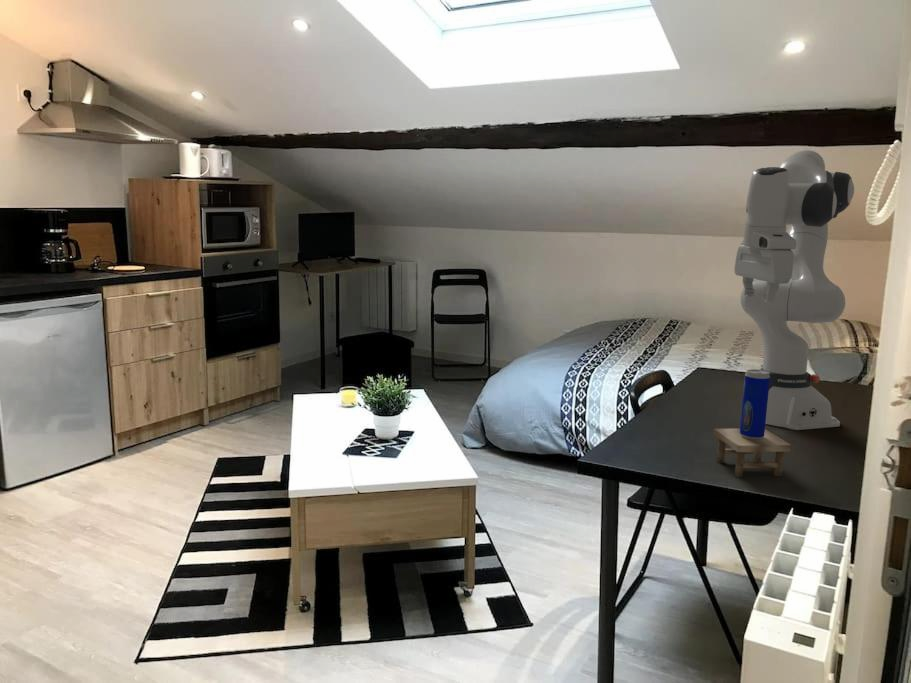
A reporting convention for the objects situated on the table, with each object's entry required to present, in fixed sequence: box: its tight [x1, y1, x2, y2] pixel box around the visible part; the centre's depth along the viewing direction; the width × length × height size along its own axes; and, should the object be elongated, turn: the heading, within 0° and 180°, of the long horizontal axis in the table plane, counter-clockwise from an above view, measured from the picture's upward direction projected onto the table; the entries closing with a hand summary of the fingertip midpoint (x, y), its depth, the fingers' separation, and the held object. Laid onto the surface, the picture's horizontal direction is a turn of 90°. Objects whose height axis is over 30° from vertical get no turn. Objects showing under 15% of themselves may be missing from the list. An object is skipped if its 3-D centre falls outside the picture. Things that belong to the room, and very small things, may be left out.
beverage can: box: [739, 368, 770, 440], centre depth 165 cm, size 5×5×15 cm
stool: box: [713, 427, 792, 478], centre depth 167 cm, size 12×12×8 cm
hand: (758, 298), depth 173 cm, fingers open, 8 cm apart
